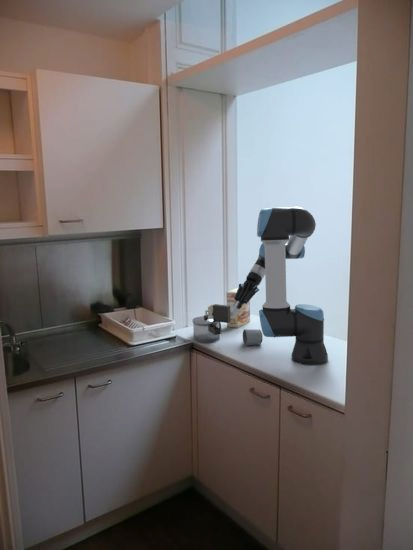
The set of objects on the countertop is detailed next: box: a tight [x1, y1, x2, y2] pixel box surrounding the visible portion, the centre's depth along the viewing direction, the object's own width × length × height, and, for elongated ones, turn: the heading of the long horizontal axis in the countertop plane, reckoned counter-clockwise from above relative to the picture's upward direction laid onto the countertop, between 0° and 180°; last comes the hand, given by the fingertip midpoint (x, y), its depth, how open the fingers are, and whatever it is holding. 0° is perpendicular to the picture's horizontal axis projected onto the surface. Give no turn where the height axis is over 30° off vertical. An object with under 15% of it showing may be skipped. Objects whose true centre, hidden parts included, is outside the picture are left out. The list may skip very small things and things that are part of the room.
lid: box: [192, 303, 231, 325], centre depth 223 cm, size 20×14×9 cm
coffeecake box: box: [225, 287, 251, 329], centre depth 251 cm, size 15×7×20 cm, turn 147°
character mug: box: [204, 304, 222, 330], centre depth 242 cm, size 11×7×13 cm, turn 113°
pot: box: [192, 322, 222, 344], centre depth 225 cm, size 25×13×9 cm, turn 24°
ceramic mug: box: [242, 328, 263, 347], centre depth 217 cm, size 11×8×8 cm
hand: (232, 313), depth 223 cm, fingers closed
